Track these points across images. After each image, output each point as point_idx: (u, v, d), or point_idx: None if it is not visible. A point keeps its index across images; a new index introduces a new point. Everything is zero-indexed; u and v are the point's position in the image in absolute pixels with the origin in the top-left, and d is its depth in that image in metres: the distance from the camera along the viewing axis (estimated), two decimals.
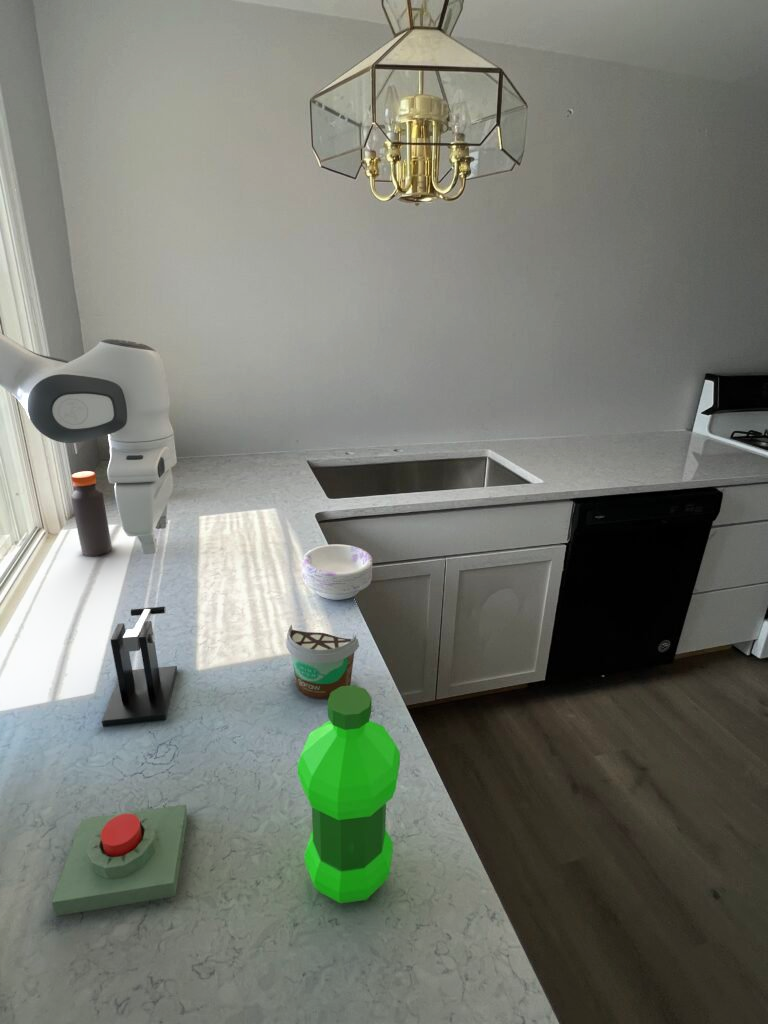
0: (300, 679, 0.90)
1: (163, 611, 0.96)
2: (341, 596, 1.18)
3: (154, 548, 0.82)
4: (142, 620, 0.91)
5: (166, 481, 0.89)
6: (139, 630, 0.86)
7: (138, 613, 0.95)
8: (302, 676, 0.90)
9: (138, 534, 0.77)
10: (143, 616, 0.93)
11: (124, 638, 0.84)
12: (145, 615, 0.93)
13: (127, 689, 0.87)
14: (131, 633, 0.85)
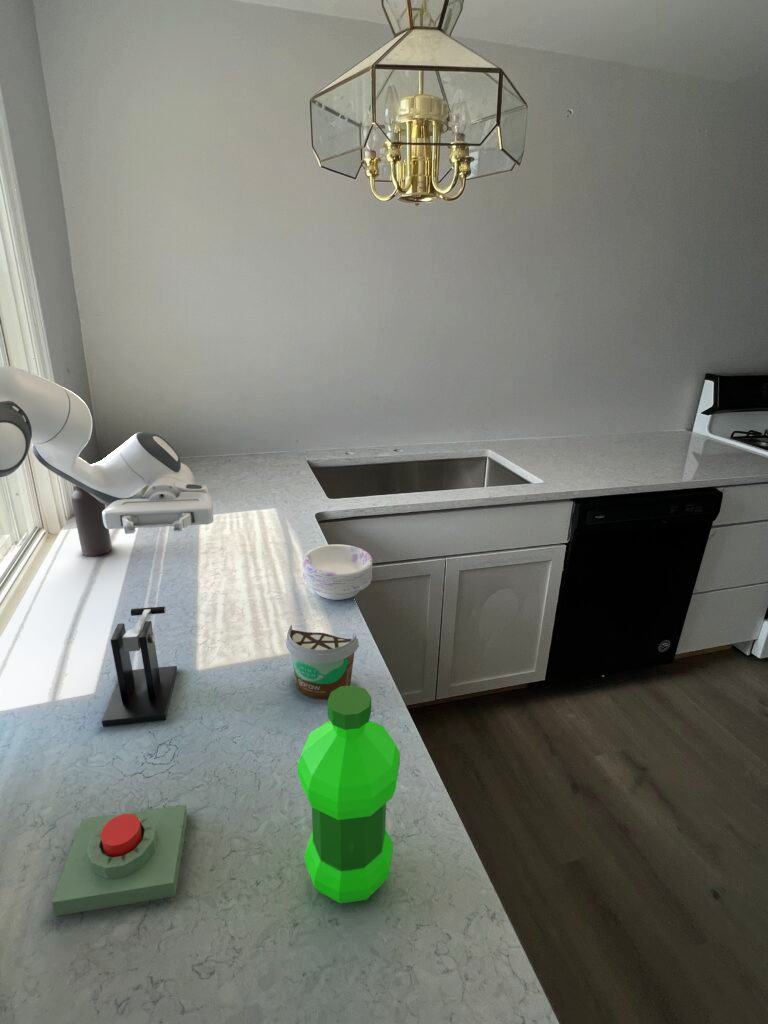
0: (300, 679, 0.90)
1: (163, 611, 0.96)
2: (341, 596, 1.18)
3: (182, 529, 1.04)
4: (142, 620, 0.91)
5: None
6: (139, 630, 0.86)
7: (138, 613, 0.95)
8: (302, 676, 0.90)
9: (211, 515, 1.09)
10: (143, 616, 0.93)
11: (124, 638, 0.84)
12: (145, 615, 0.93)
13: (127, 689, 0.87)
14: (131, 633, 0.85)
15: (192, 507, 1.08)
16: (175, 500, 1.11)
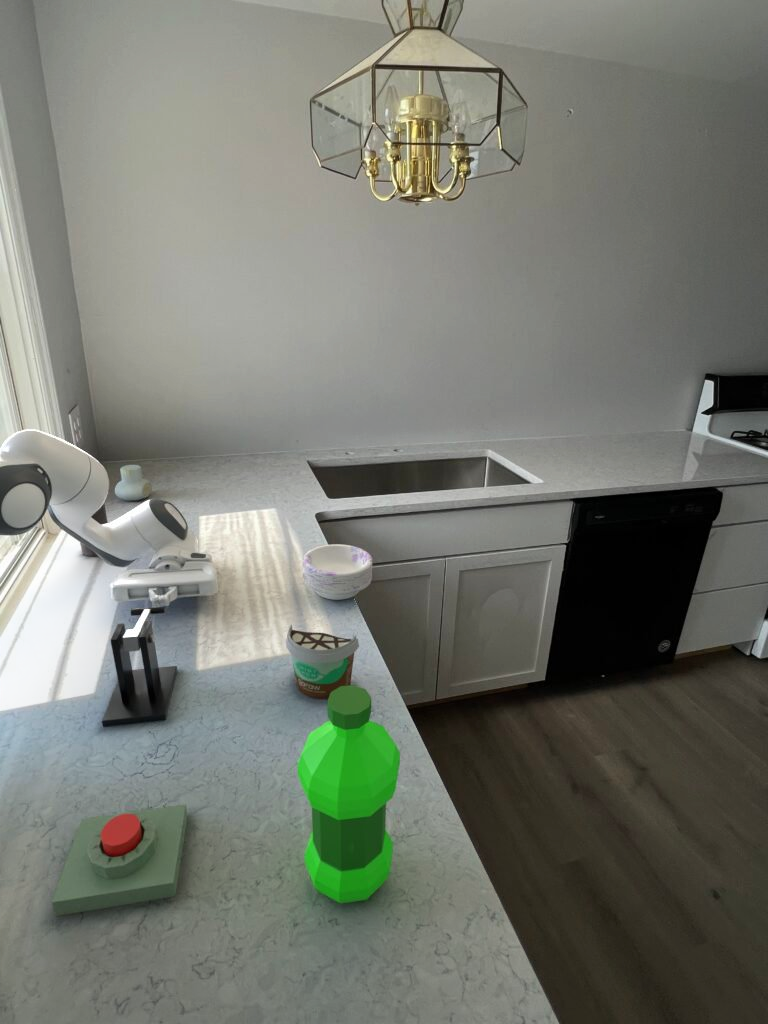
0: (300, 679, 0.90)
1: (163, 611, 0.96)
2: (341, 596, 1.18)
3: (168, 604, 1.07)
4: (142, 620, 0.91)
5: None
6: (139, 630, 0.86)
7: (138, 613, 0.95)
8: (302, 676, 0.90)
9: (215, 586, 1.12)
10: (143, 616, 0.93)
11: (124, 638, 0.84)
12: (145, 615, 0.93)
13: (127, 689, 0.87)
14: (131, 633, 0.85)
15: (197, 579, 1.11)
16: (180, 570, 1.15)
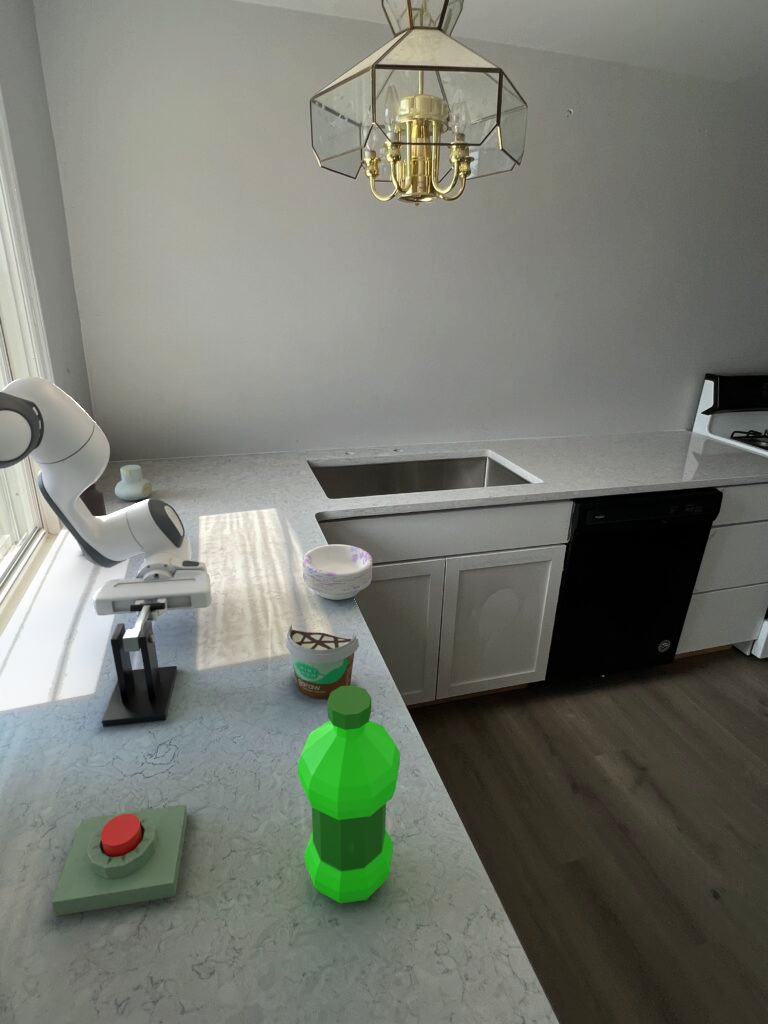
0: (300, 679, 0.90)
1: (163, 607, 0.96)
2: (341, 596, 1.18)
3: (156, 618, 0.97)
4: (142, 618, 0.91)
5: None
6: (139, 630, 0.86)
7: (138, 609, 0.95)
8: (302, 676, 0.90)
9: (209, 598, 1.02)
10: (143, 613, 0.93)
11: (124, 639, 0.84)
12: (145, 612, 0.93)
13: (127, 689, 0.87)
14: (131, 633, 0.85)
15: (189, 590, 1.01)
16: (171, 580, 1.05)
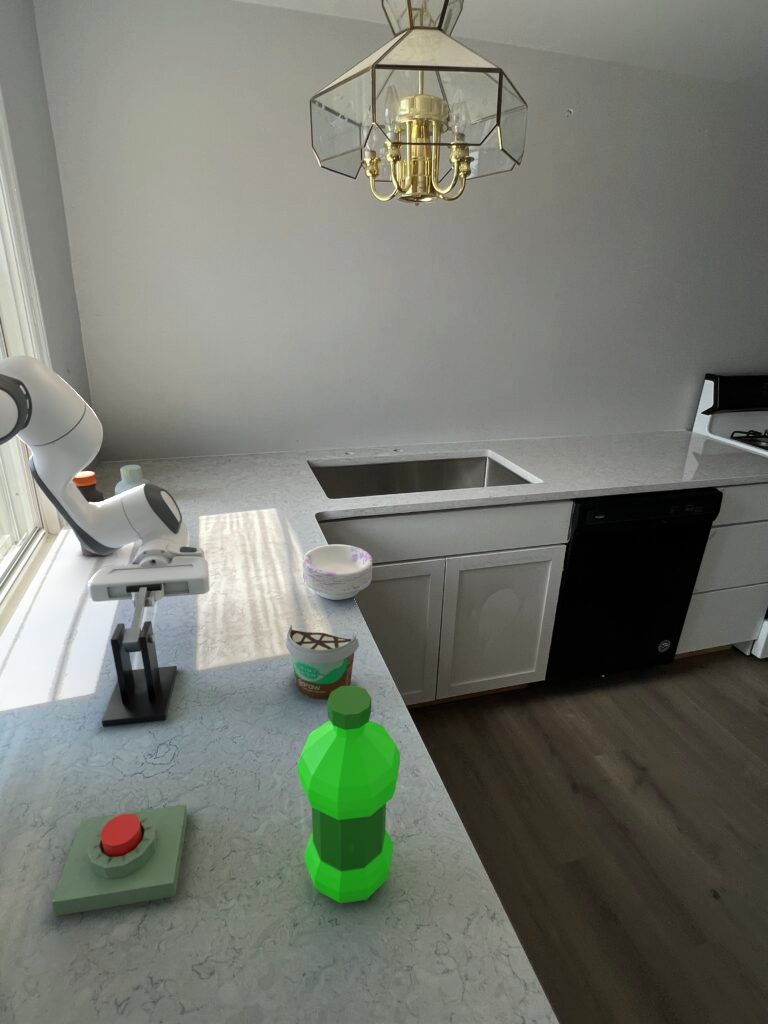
0: (300, 679, 0.90)
1: (159, 589, 0.94)
2: (341, 596, 1.18)
3: (153, 604, 0.94)
4: (139, 608, 0.90)
5: None
6: (138, 631, 0.86)
7: (134, 591, 0.93)
8: (302, 676, 0.90)
9: (207, 584, 1.00)
10: (140, 600, 0.91)
11: (124, 643, 0.84)
12: (142, 599, 0.92)
13: (127, 689, 0.87)
14: (130, 636, 0.85)
15: (186, 576, 0.99)
16: (168, 566, 1.02)
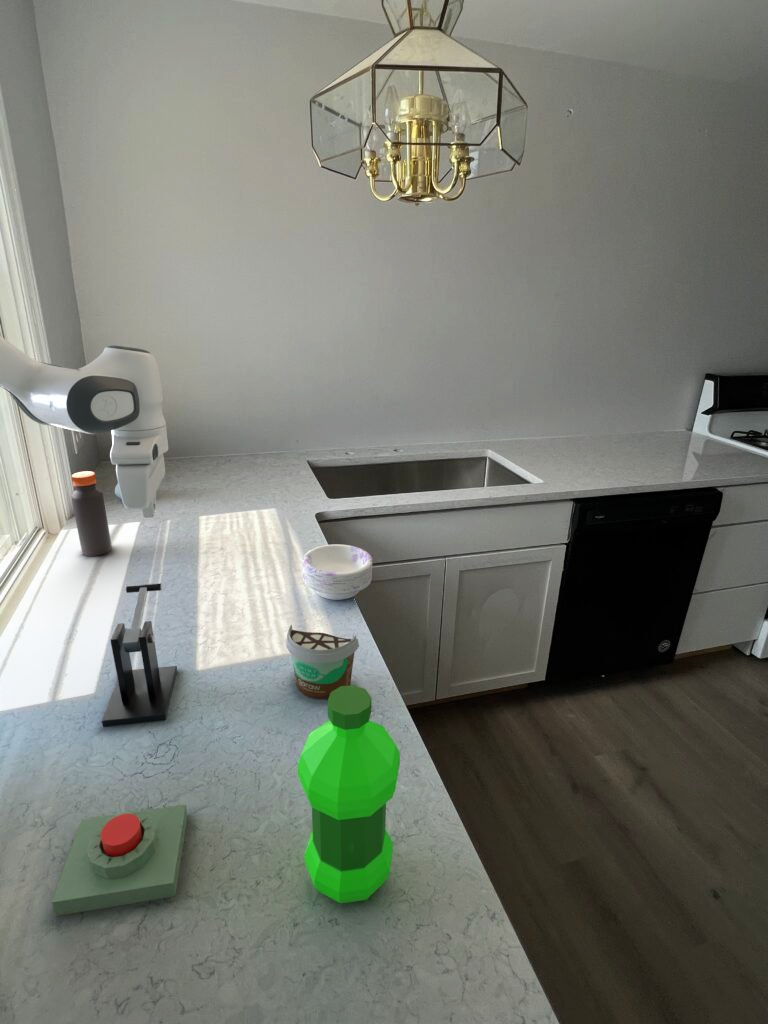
0: (300, 679, 0.90)
1: (159, 589, 0.94)
2: (341, 596, 1.18)
3: (152, 513, 1.01)
4: (139, 608, 0.90)
5: (159, 466, 1.04)
6: (138, 631, 0.86)
7: (134, 591, 0.93)
8: (302, 676, 0.90)
9: (135, 507, 0.92)
10: (140, 600, 0.91)
11: (124, 643, 0.84)
12: (142, 599, 0.92)
13: (127, 689, 0.87)
14: (130, 636, 0.85)
15: None
16: None
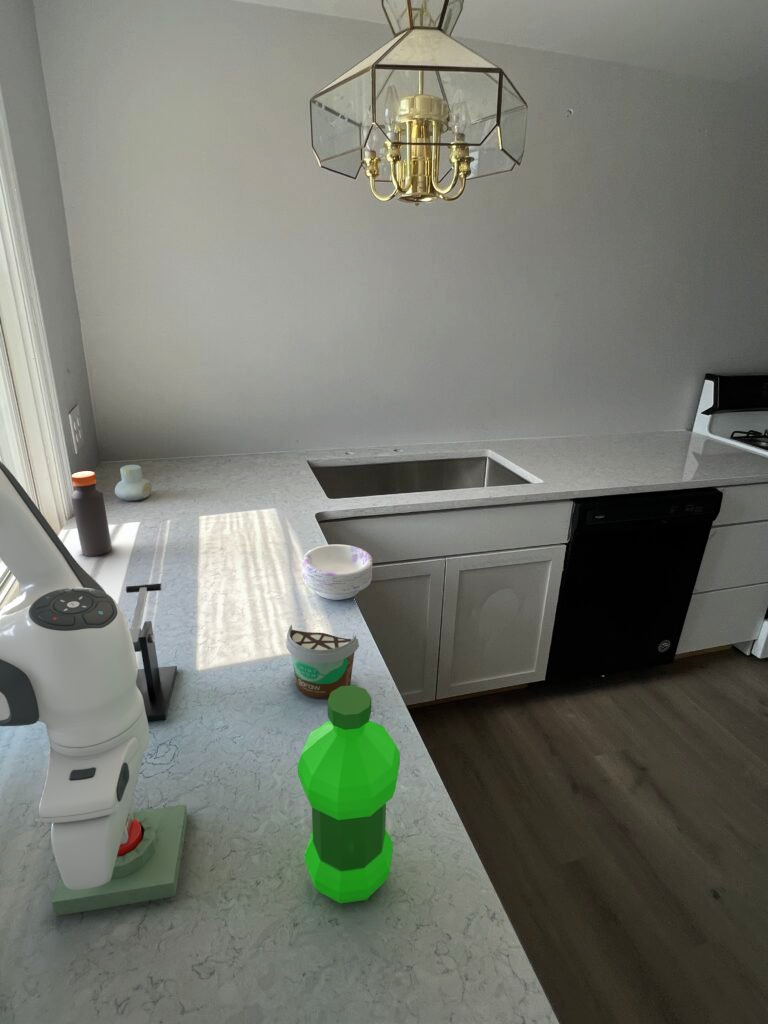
0: (300, 679, 0.90)
1: (159, 589, 0.94)
2: (341, 596, 1.18)
3: (126, 837, 0.61)
4: (139, 608, 0.90)
5: None
6: (138, 631, 0.86)
7: (134, 591, 0.93)
8: (302, 676, 0.90)
9: None
10: (140, 600, 0.91)
11: None
12: (142, 599, 0.92)
13: None
14: None
15: None
16: None
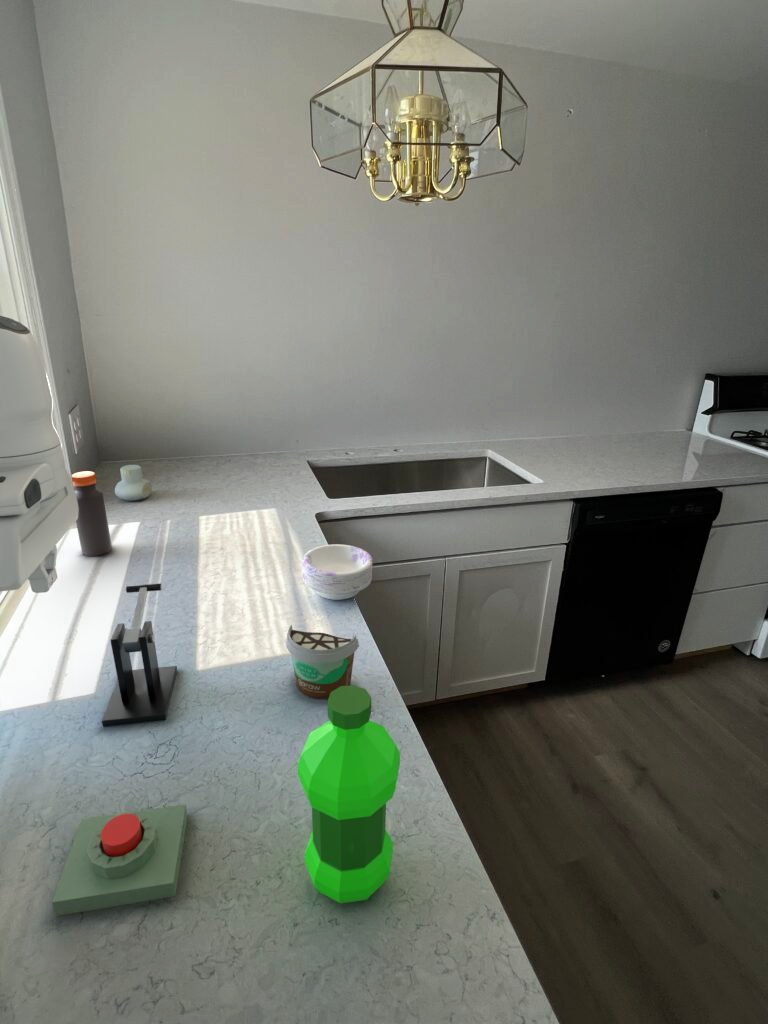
0: (300, 679, 0.90)
1: (159, 589, 0.94)
2: (341, 596, 1.18)
3: (47, 585, 0.63)
4: (139, 608, 0.90)
5: (61, 508, 0.66)
6: (138, 631, 0.86)
7: (134, 591, 0.93)
8: (302, 676, 0.90)
9: None
10: (140, 600, 0.91)
11: (124, 643, 0.84)
12: (142, 599, 0.92)
13: (127, 689, 0.87)
14: (130, 636, 0.85)
15: None
16: None
